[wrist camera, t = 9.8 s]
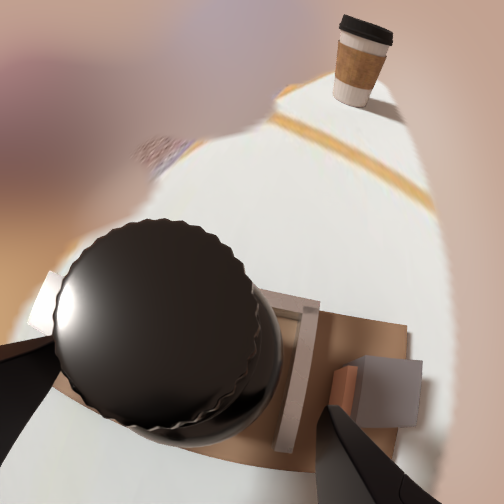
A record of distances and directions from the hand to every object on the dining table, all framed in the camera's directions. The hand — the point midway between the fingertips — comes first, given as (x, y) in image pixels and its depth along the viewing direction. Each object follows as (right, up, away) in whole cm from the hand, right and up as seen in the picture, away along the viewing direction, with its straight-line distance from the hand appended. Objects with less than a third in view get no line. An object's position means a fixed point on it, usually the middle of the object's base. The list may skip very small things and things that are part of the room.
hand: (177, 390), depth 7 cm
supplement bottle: (0, -3, +8) cm, 9 cm away
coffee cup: (+18, +29, +31) cm, 46 cm away
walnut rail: (0, -4, +9) cm, 10 cm away
